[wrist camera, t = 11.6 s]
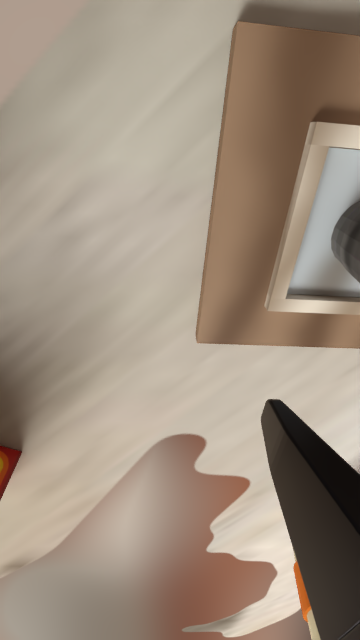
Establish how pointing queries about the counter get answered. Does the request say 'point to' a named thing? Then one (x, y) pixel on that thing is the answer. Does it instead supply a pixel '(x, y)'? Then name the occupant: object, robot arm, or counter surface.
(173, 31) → the counter surface
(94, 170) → the counter surface
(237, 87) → the base board
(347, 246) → the beverage cup
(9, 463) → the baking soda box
